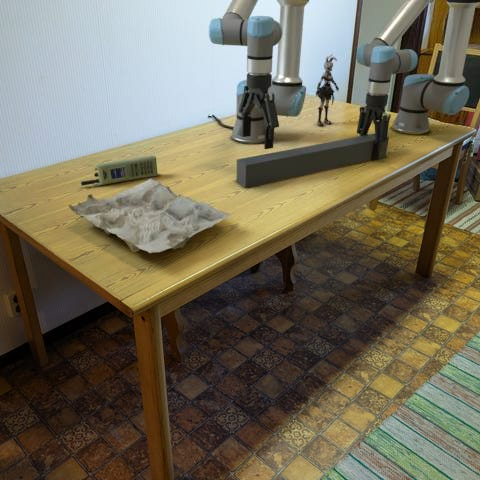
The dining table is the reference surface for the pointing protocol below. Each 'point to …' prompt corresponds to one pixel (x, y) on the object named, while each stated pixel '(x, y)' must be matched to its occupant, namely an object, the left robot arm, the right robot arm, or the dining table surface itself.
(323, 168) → the beam
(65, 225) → the dining table surface
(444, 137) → the dining table surface
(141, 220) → the grey pulp egg tray
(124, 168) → the handheld radio
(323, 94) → the figurine
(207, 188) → the dining table surface
